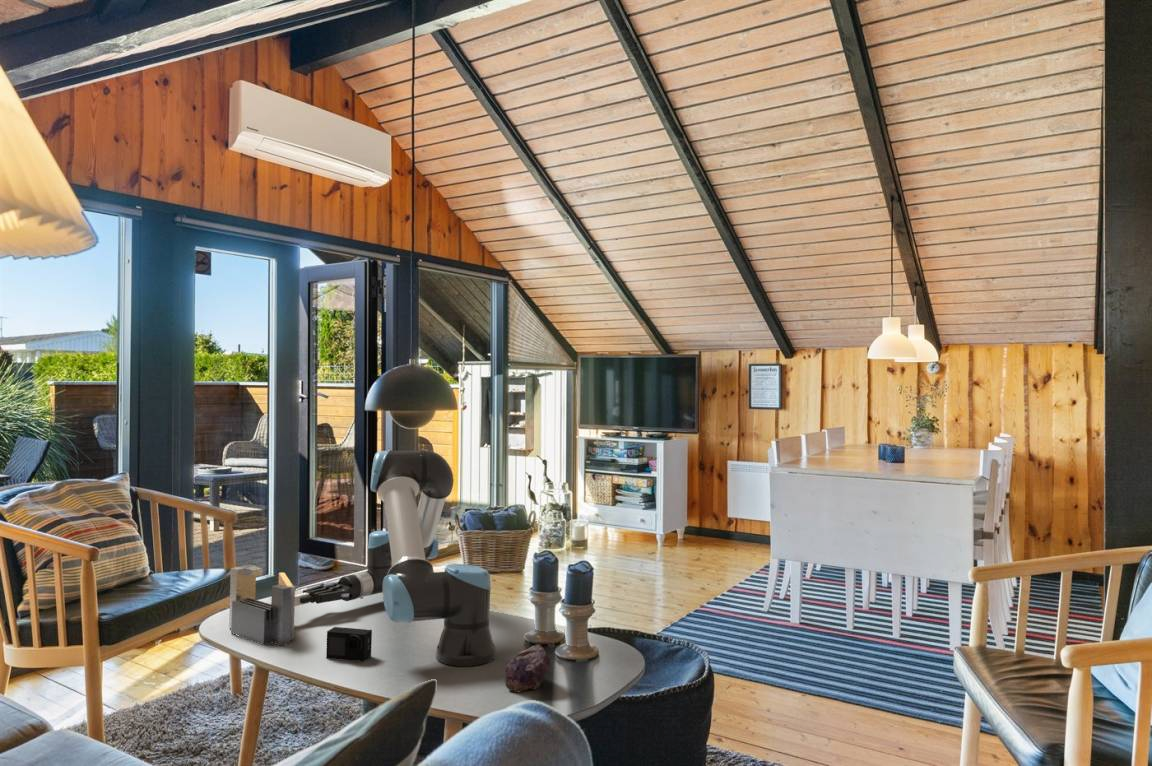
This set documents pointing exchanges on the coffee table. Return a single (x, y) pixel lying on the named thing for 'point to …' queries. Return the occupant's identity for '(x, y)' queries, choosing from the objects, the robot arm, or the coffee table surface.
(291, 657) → the coffee table surface
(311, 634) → the coffee table surface
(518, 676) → the rock
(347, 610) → the coffee table surface
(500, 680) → the coffee table surface
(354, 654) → the digital camera
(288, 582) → the orange wooden board
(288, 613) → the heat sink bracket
